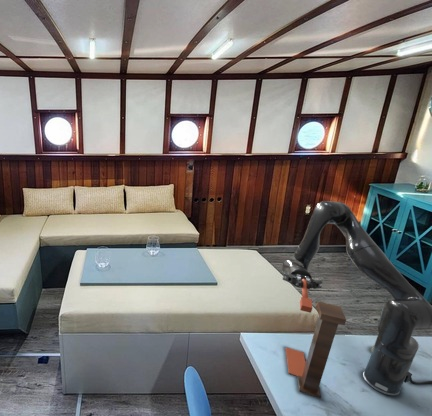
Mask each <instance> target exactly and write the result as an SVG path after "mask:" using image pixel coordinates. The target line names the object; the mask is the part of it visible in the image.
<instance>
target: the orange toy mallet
mask: <svg viewBox="0 0 432 416" xmlns="http://www.w3.org/2000/svg"><path fill="white" fill-rule="evenodd" d="M302 281H303V288H301V291H302V292H301V297H300V300H299V310H300V311H302V312H306V313H310V314H311V313H312V311H313V300H312V298H309V295H308V293H309V292H308V289H307V281H306V279H302Z"/></svg>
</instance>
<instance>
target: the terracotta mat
mask: <svg viewBox="0 0 432 416" xmlns="http://www.w3.org/2000/svg"><path fill="white" fill-rule="evenodd" d="M285 354H286V360H287V361H286V362H287V363H286V364H287V369H288V370H287V371H288V375H292V376H295V377H297V376H298V375H299V376H302V375H303V371H304V367H305V364H306V358H305V357H306V356H305V352H303V351H300V350H297V349H293V348H291V347H285Z"/></svg>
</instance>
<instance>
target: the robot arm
mask: <svg viewBox="0 0 432 416" xmlns="http://www.w3.org/2000/svg"><path fill="white" fill-rule="evenodd" d="M328 224H329V225H330V224H331V225H335V226H336V227H337V228H338V229H339V230H340V232H341V233H342V235H343V236H344V239H345V250H346V253H347V256H348V257H349V259H350V260H351V261H352V263H353V264H354V265H355V267H356V268H357V269H358V271H360V273H362V274H363V275H365V277H367V278H369V279H371V280H372V281H373V282H375V283H377V284H378V285H380V286H381V287H382V288H383V289H385V290H386V291H387V292H388V293H389V294H390V295H391V296H392V298H393V299H389V300H388V301H386V302H385V304H383V307H382V309H381V313H380V317H379V319H378V324H377V331H378V334H377V337H376V340H375V342H374V344H375V345H374V344H373V346H374V347H373V346H372V347H373V350H372V352H371V353H370V356H369V358H368V361H367V364H366V366H365V369H364V371H363V373H362V378H363V380H364V382H365V383H366V384H367V385H368V386H369V387H371V388H372V389H374V390H376V391H377V392H379V393H381V394H383V395H387V396H391V397H395V396H396V397H397V396H398V395H399V394H400V392H401V389H402V387H403V385H404V383H405V384H406V383H408V382H410V384H413V385H429V384H432V380H425V381H414V380H413V373H412V372H409V371H410V368H411V366H412V363H413V361H414V359H415V356H416V354H417V352H418V351H419V346H420V345H419V342H418V341H417V339H416V338H415V337H413V336H412V335H413V332H414V331H424V330H425V331H428V330H432V305H431V303H430V302H429V301H428V300H427V299H426V298H425V297H424V296H423V295H422V294H421V293H420V292H419V291H418V290H417V289H416V288H415V287H414V286H412V284H410V283H409V281H408V280H407V279H406V278H405V277H404V276H403V274H402V273H401V272H400V271H399V270H398V269H397V268H396V266H395V265H394V264H393V263H392V261H391V260H390V259H389V258H388V257H387V254H385V252H383V250H382V249H381V248H380V247H379V246H378V245H377V243H376V242H375V241H374V240H373V238H372V237H371V236H370V235H369V233H368V232H367V231H366V230H365V228H364V227H363V226H362V225H361V224H360V221H359V219H358V218H357V217H356V215H355V214H354V212H353V211H352V210H351V208H350V206H349V205H347V204H346V203H344V202H341V201H331V200H322V201H320V202H318V203H317V204H316V205H315V207H314V209H313V210H312V213H311V217H310V218H309V222H308V224H307V226H306V227H307V228H306V230H305V233H304V235H303V238H302V239H301V241H300V243H299V245H298V247H297V248H296V250H295V251H294V253H293V258H294V259H295V260H296V261H294V260H292V259H286V260H283V262H282V263H281V266H280V267H281V268H280V271H281V272H282V280H283V281H285V282H287V283H289V284H291V285H293V286H294V287H296V288H299V289H302V288H303V281H302V279H306V281H307V290H311V289H313V290H318V289H322V287H323V280H315V279H314V278H313V276H312V275H311V273H310V272H309V271H310V266H311V263H312V261H313V259H314V257H315V256H316V255H317V253H318V251H319V249H320V244H321V243H320V241H321V240H320V237H321V233H322V231H323V229H324V228H325V226H326V225H328Z"/></svg>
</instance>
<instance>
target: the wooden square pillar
mask: <svg viewBox="0 0 432 416" xmlns="http://www.w3.org/2000/svg"><path fill="white" fill-rule="evenodd" d="M315 308H316V311H317V314H318V315H317V316H318V317H317V321H316V325H315V329H314V332H313V336H312V339H311V343H310V346H309V350H308V352H307V357H306V359H305V362H306V364H305V367H304V371H303V375H302V376H299V375H298V376H296V379H297V385H298V392H299V393H303V394H305V395H309V396H312V397H315V398H317V399H322V394H321V389H320V384H321V381H322V378H323V375H324V372H325V369H326V365H327V363H328V360H329V356H330V354H331V349H332V346H333V344H334V339H335V337H336V333H337V329H338V326H339V325H342V326H345V325H346V322H347V318H346V315H345V313H344V311H343V309H342V307H341V306H339V305H335V304H330V303H326V302H321V301H317V302H316V305H315Z"/></svg>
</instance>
